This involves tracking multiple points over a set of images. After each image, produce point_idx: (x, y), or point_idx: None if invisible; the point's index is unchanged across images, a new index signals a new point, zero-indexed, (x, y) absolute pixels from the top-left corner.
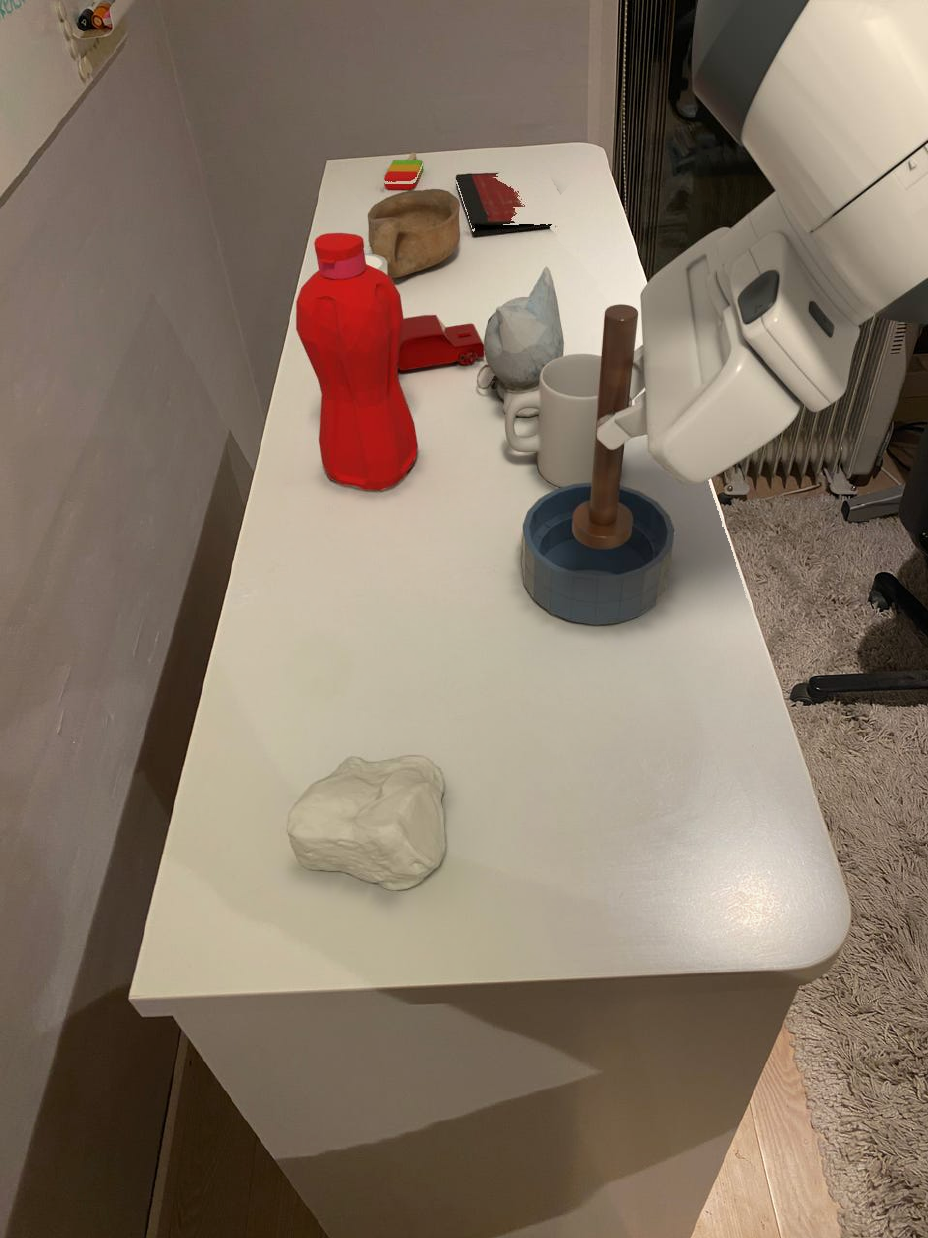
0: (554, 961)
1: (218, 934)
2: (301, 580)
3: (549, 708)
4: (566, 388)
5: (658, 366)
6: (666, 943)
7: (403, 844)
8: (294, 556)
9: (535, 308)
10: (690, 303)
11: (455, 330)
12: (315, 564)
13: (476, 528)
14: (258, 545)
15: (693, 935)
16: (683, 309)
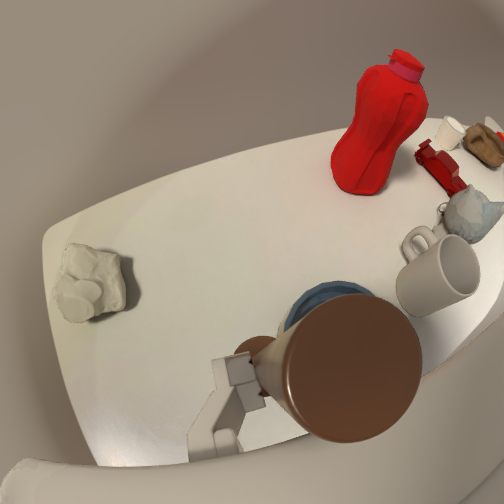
0: (68, 384)
1: (57, 244)
2: (250, 177)
3: (200, 353)
4: (454, 257)
5: (243, 495)
6: (90, 431)
7: (56, 302)
8: (267, 166)
9: (486, 209)
10: (478, 484)
11: (459, 180)
12: (265, 178)
13: (337, 251)
14: (267, 149)
15: (98, 443)
16: (464, 477)
